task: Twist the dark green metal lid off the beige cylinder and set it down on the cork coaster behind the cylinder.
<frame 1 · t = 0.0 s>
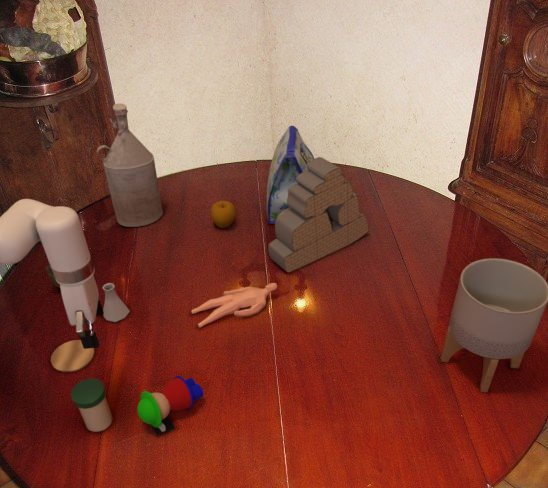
hand: (94, 330, 119), 24 cm above the table, tool pointing down, fingers open, 9 cm apart
male figurine: (236, 308, 159), on the table
lunch bag: (291, 208, 197), on the table
flask: (116, 314, 158), on the table
toy figure: (172, 412, 132), on the table
beige cylinder: (99, 420, 131), on the table
planter: (478, 363, 141), on the table
jar lid: (87, 391, 124), point 11 cm above the table, screwed on, not yet turned
apple: (224, 226, 190), on the table
ruin: (317, 247, 179), on the table
coaster: (73, 356, 146), on the table
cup: (66, 288, 167), on the table
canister: (139, 218, 195), on the table
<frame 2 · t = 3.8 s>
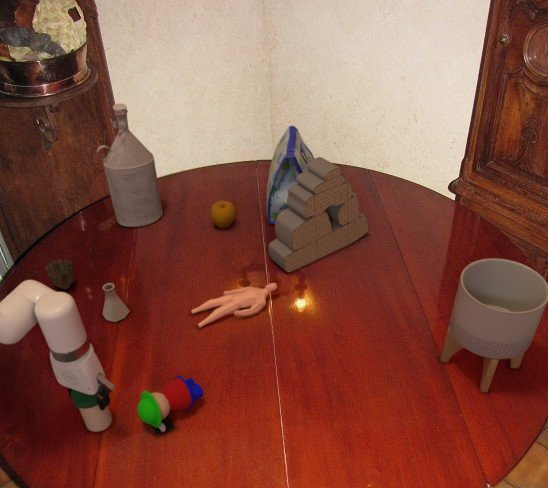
hand: (91, 400, 126), 8 cm above the table, tool pointing down, fingers closed on jar lid, 7 cm apart
jar lid: (87, 391, 124), point 11 cm above the table, screwed on, not yet turned, touching gripper
everything else where it was.
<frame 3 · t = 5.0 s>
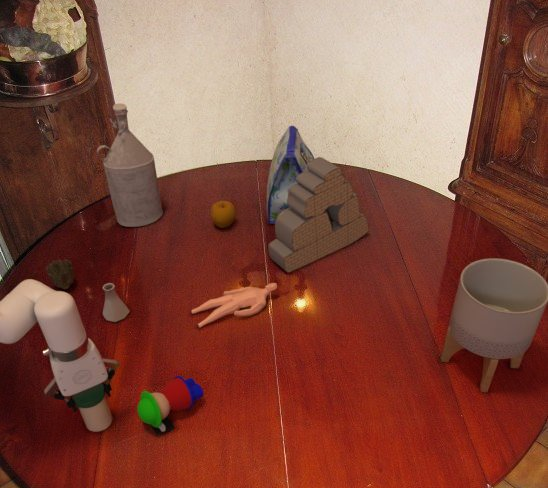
hand: (91, 399, 125), 8 cm above the table, tool pointing down, fingers closed on jar lid, 7 cm apart
jar lid: (87, 391, 123), point 11 cm above the table, turned 54° so far, risen 0.1 cm, still on its thread, touching gripper
everything else where it was.
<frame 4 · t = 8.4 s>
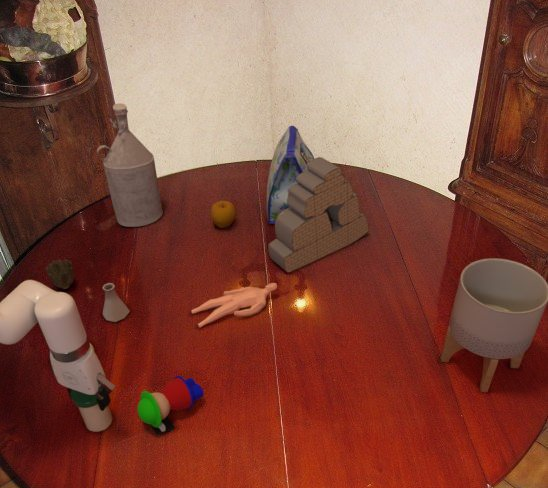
hand: (91, 400, 126), 8 cm above the table, tool pointing down, fingers closed on jar lid, 7 cm apart
jar lid: (87, 391, 123), point 11 cm above the table, turned 90° so far, risen 0.2 cm, still on its thread, touching gripper
everything else where it was.
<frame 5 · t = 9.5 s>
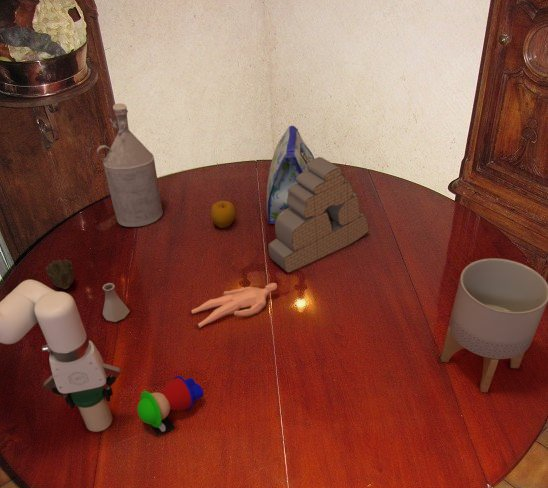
hand: (91, 400, 125), 8 cm above the table, tool pointing down, fingers closed on jar lid, 7 cm apart
jar lid: (87, 390, 123), point 11 cm above the table, turned 125° so far, risen 0.3 cm, still on its thread, touching gripper
everything else where it was.
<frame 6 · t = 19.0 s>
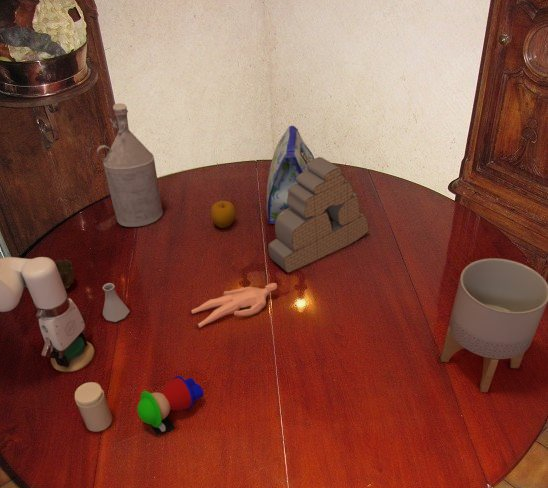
hand: (73, 354, 146), 1 cm above the table, tool pointing down, fingers closed on jar lid, 7 cm apart
jar lid: (69, 345, 144), point 4 cm above the table, off its thread, touching gripper
everything else where it was.
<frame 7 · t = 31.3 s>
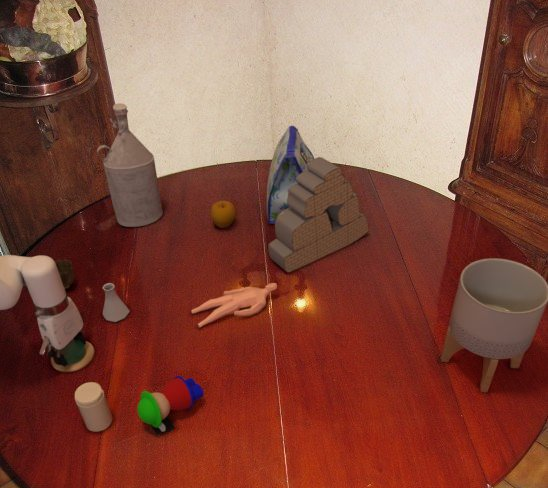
hand: (71, 353, 145), 1 cm above the table, tool pointing down, fingers closed on jar lid, 7 cm apart
jar lid: (70, 350, 145), point 2 cm above the table, off its thread, touching gripper
everything else where it was.
when the fingers open (2 cm above the table, at t = 31.5 s): jar lid drops 1 cm, resting on coaster.
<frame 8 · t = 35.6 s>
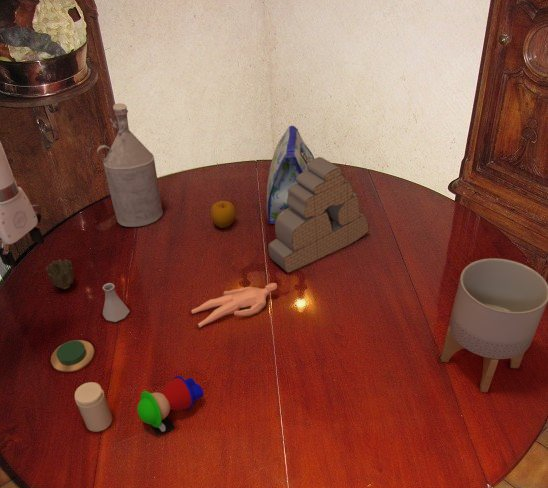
hand: (24, 253, 133), 28 cm above the table, tool pointing down, fingers open, 9 cm apart
jar lid: (71, 351, 145), point 2 cm above the table, off its thread, touching coaster
everything else where it was.
at the end: jar lid inside the target area on the coaster (0.1 cm from its centre), point 1.9 cm above the coaster's base; the gripper is holding nothing; jar lid point 1.9 cm above the table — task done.
